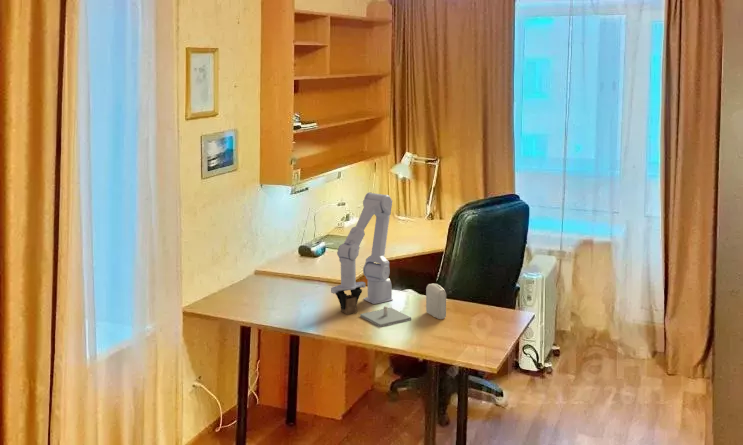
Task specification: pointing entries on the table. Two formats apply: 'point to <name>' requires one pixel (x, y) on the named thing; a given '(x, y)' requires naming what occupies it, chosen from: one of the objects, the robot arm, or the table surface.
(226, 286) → the table surface
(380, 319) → the pin base
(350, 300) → the hollow wooden block
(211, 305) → the table surface
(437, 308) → the photo printer
